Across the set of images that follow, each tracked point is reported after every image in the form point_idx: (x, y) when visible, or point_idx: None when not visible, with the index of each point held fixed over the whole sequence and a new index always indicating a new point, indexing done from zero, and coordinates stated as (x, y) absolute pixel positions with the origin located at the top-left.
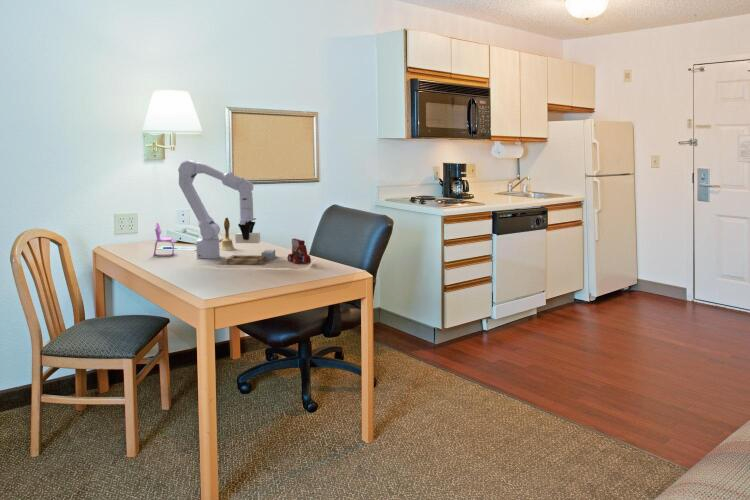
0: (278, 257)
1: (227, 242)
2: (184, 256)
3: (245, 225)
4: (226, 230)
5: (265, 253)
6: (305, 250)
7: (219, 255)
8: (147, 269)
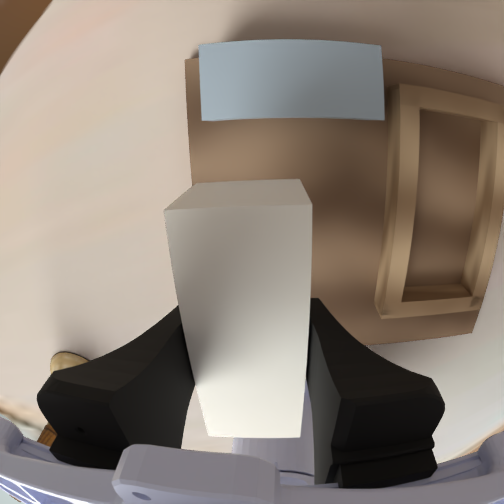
0: (182, 49)
1: None
2: None
3: (421, 439)
4: None
5: (383, 85)
6: None
7: None
8: (445, 460)
